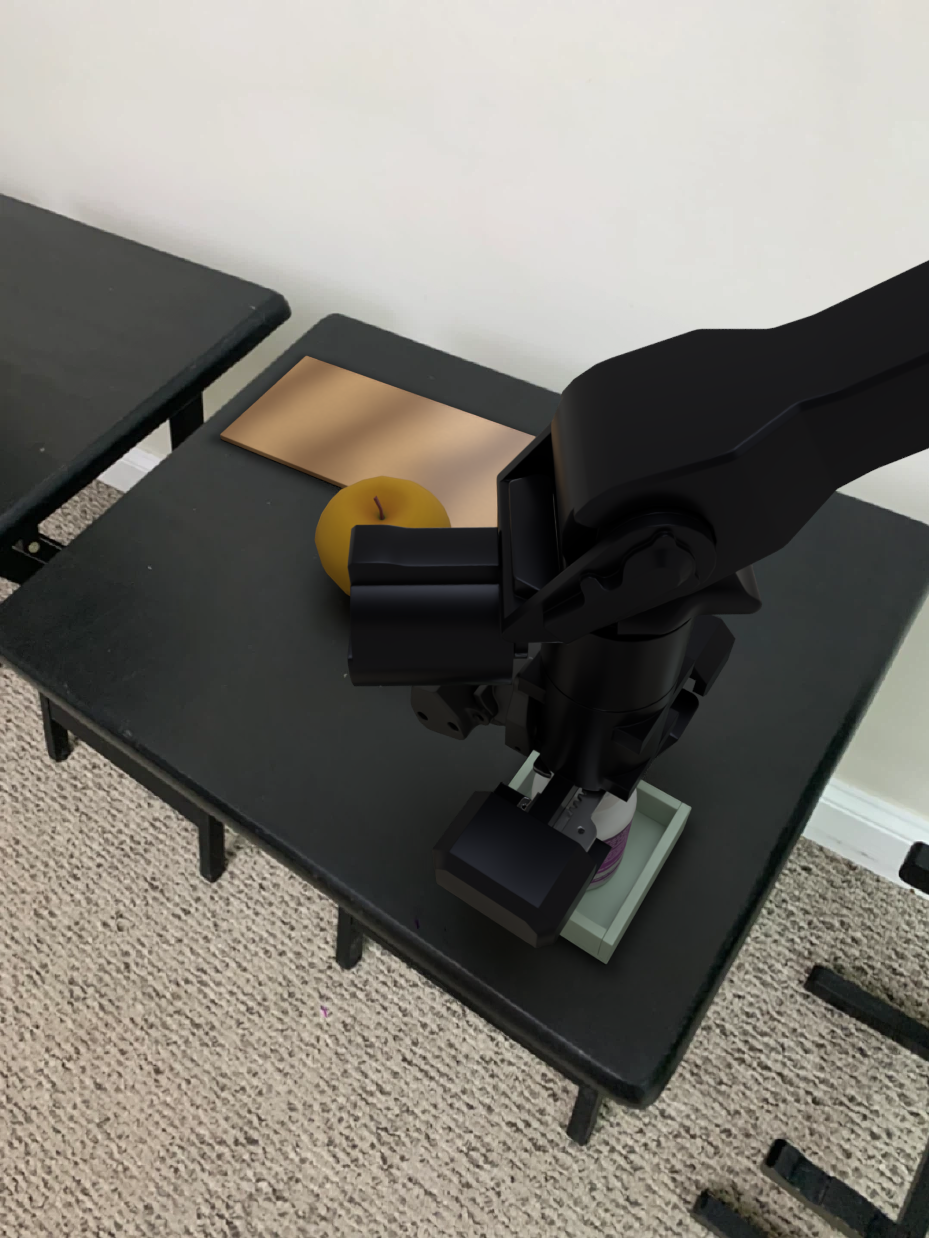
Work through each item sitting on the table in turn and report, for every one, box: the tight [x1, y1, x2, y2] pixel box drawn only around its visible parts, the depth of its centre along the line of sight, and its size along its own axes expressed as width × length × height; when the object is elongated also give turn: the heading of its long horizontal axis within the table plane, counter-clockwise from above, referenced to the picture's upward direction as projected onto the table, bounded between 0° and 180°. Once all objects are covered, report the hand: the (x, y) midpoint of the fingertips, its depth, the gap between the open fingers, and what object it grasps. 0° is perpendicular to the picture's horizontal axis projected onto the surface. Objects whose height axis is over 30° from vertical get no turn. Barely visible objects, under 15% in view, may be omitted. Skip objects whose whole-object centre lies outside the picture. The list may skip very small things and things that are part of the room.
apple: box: [314, 476, 451, 597], centre depth 61 cm, size 9×9×9 cm
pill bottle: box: [532, 772, 637, 890], centre depth 49 cm, size 5×5×10 cm
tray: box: [507, 750, 692, 965], centre depth 52 cm, size 9×9×3 cm
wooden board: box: [219, 355, 536, 527], centre depth 72 cm, size 40×12×1 cm, turn 60°
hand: (579, 823), depth 50 cm, fingers closed on pill bottle, 5 cm apart
